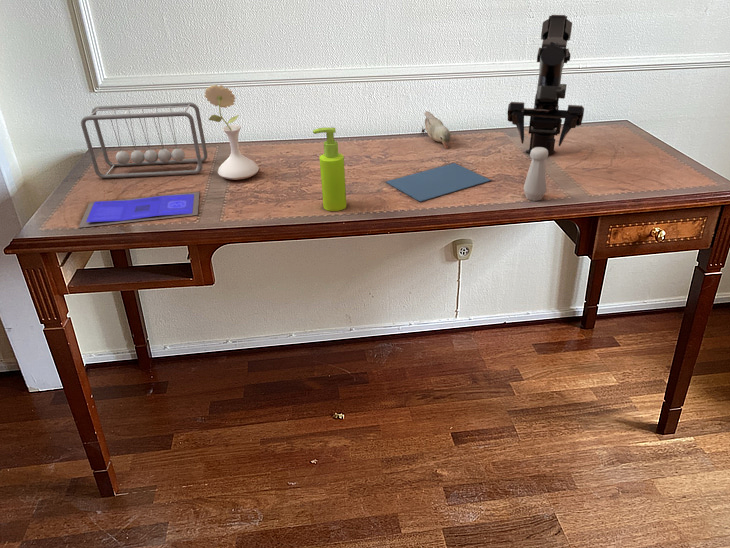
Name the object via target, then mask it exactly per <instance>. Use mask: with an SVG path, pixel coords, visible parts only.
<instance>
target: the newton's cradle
mask: <svg viewBox="0 0 730 548" xmlns="http://www.w3.org/2000/svg"><path fill="white" fill-rule="evenodd" d="M190 107H191V108H193V109H194V111H195V116H196V122H197V128H198V132H199V133H198V134H199V138H200V143H201V148H202V153H203V156H201V151H200V146H199V141H198V135H197V130H196V125H195V119H194V117H193V116H192V114H191V113H190V112H187V110H189V108H190ZM173 108H185V109H184V110H179V111H172V109H173ZM148 109H149V110H150V109H151V110H153V109H154V111H153V112H145V111H144V110H148ZM158 109H168V110H167V111H158ZM130 110H141V111H142V112H141V111H139V112H135V113H133V112H132V113H131V112H130ZM103 111H104V112H105V111H113V112H114V113H109V114H97V112H103ZM116 111H125V112H124V113H116ZM127 112H128V113H127ZM170 117H171V122H172V126H171V123H170V119H169V118H170ZM173 117H186V118H187V119H188V121H189V125H190V130H191V131H190V132H191V136H192V141H193V145H194V151H195V155H196V156H195V157H196V158H186V154H185V151H184V150H183V149H181V148H179V147H178V145H177V144H178V143H177V139H176V138H177V137H176V132H175V126H174V121H173ZM147 118H151V119H152V118H153V122H154V124H155V128H156V132H157V135H158V139H159V143H160V145H161V149H159V151H158V152H157V151H155V150H154V149H151V146H150V139H149V134H148V129H147V123H146V119H147ZM155 118H157V121H158V126H159V128H161V125H160V118H167V120H168V124H169V128H170V131H171V135H172V139H173V143H174V146H175V148H174V149H173V150H171V151H170V150H168V149H167V148H164V142H163V136H162V135H160V134H162V131H161V129H159V130H158V127H157V123H156V120H155ZM128 119H129V120H130V125H131V129H132V130H131V131H132V134H131V131H130V127H129V124H128V121H127V120H128ZM132 119H139V122H140V125H141V127H142V128H141V129H142V132H143V135H144V138H145V141H146V145H147V148H148V150H146V151H145V152H143V151H141V150H139V149H137V144H136V140H135V134H134V133H135V132H134V128H133V123H132ZM141 119H143V121H144V127H145V131H146V134H145V131H144V127H143V123H142V121H141ZM104 120H107V121H108V120H110V122H111V126H112V128H113V131H114V134H115V139H116V141H117V145H118V149H119V151H117V153H116V154H115V160H116V163H118V164H112V163H113V162H112V161H110V159H109V155H108V152H107V148H106V145H105V141H104V137H103V134H102V131H101V127H100V124H99V121H104ZM113 120H115V121H116V129H117V133H116V130H115V128H114V124H113ZM118 120H125V123H126V127H127V129H128V134H129V135H130V139H131V141H132V145H133V147H134V150H133V151H132V152H131V154H130V155H129V153H128V152H126V151H124V150H122V148H121V147H122V143H121V142H119V141H121V138H120V136H118V135H120V131H119V126H118ZM88 121H93V123H94V127H95V131H96V135H97V139H98V142H99V145H100V148H101V152H102V155H103V159H104V161H105V163H106V164H107V165H108V166H110V168H109V170H108V171H107V172H106V173H105V174H104V173H102V172H101V171H100V169H99V166H98V162H97V159H96V155H95V152H94V149H93V146H92V142H91V138H90V135H89V131H88V128H87V125H86V123H87V122H88ZM80 126H81V129H82V133H83V136H84V140H85V142H86V146H87V147H86V148H87V150H88V153H89V157H90V160H91V164H92V167H93V171H94V173H95V174H96V175H97V176H98V177H99V178H100V179H104V180H105V179H124V178H143V177H145V178H146V177H163V176H182V175H183V176H186V175H197V174H199V173H201V172H202V170H203V163H204V162H205V161H206V160H207V159H208V149H207V144H206V140H205V139H206V138H205V134H204V129H203V122H202V117H201V113H200V108H199V106H198V105H197V104H196V103H194V102H165V103H143V104H121V105H120V104H118V105H116V104H115V105H98V106H95V107H93V108H92V110H91V114H90V115H86V116H84V117H82V118H81V120H80ZM172 129H173V130H172ZM159 133H160V134H159ZM173 133H174V134H173ZM117 134H118V135H117ZM132 135H133V138H132ZM117 136H118V137H117ZM118 140H119V141H118ZM130 160H131V162H134V163H128V162H130ZM196 163H197V166H196V168H195V169H188V170H187V169H186V170H168V171H167V170H166V171H147V172H131V173H130V172H127V173H110V172H111V171H112V170H113V169H114V168H115V167H116V168H117V167H135V166H138V167H139V166H156V165H176V164H196ZM126 174H127V175H126Z"/></svg>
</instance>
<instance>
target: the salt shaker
mask: <svg viewBox="0 0 730 548" xmlns="http://www.w3.org/2000/svg"><path fill="white" fill-rule="evenodd" d="M529 157H530V159H531V161H530V164H529V168H528V171H527V174H526V177H525V181H524V184H523V193H524V196H525V198H526V199H527V200H529V201H532V202H536V201H541V200H542V198H543V197H544V195H545V194H546V193H547V190H548V189H547V179H546V178H547V176H546V160H547V159H548V157H549V155H548V150H547V149H546V148H543V147H535V148H533V149H532V150H531V152H530V153H529Z"/></svg>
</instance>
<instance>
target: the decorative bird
mask: <svg viewBox="0 0 730 548" xmlns="http://www.w3.org/2000/svg"><path fill="white" fill-rule="evenodd" d="M423 115H424V116H425V119H424V126H423V125H421V126H422V128H421V133H420V135H422V134H423V136H425V134H427V135H428V137H429V138H430V139H431V140H432V141H436V142H438V143H442V145H443V146H444V148H446V149H448V147H449V146H450V142H451V132H450V130H449V128H448V127H447V126H445V125H444V123H443V121H442V120H441V119H439V118H438V117H435V115H434V114H433V113H432V112H430V111H429V110H425V112H423Z"/></svg>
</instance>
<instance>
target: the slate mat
mask: <svg viewBox="0 0 730 548" xmlns="http://www.w3.org/2000/svg"><path fill="white" fill-rule="evenodd" d="M488 182H492V180H491V179H490V178H487V177H485V176H483V175H481V174H479V173H477V172H475V171H473V170H470V169H469V168H467V167H464V166H462V165H460V164H457V163H455V162H453V163H448V164H445V165H440V166H437V167H434V168H430V169H426V170H423V171H419V172H415V173H413V174H409V175H404V176H401V177H398V178H393V179H390V180H386V181H385V183H386V184H387V185H389V186H391V187H393V188H395V189H397V190H398V191H400V192H401V193H403V194H405V195H407V196H409V197H410V198H411V199H414V200H416V201H417V202H419V203H422V202H425V201H428V200H432V199H435V198H439V197H442V196H445V195H448V194H452V193H457V192H459V191H463V190H465V189H468V188H473V187H476V186H479V185H482V184H486V183H488Z"/></svg>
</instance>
